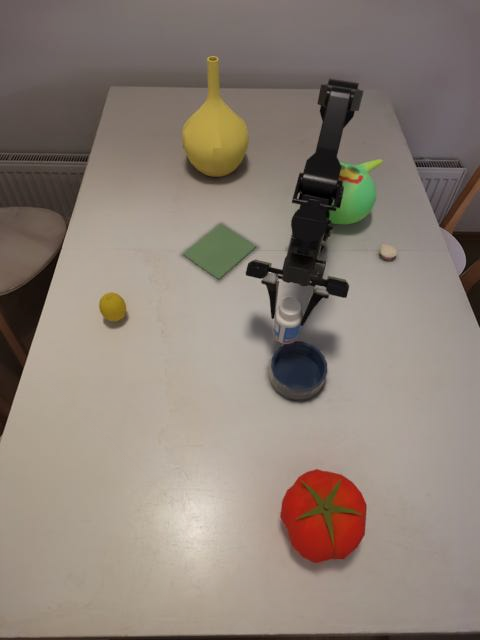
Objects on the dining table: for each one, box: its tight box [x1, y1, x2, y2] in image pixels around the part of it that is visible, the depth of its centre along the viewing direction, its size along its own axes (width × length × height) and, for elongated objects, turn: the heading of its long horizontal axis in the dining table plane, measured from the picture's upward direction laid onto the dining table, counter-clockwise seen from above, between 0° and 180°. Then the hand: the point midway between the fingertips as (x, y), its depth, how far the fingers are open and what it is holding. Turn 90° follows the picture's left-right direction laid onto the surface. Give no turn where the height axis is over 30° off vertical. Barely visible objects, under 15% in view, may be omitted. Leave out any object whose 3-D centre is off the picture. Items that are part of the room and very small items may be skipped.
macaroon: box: [379, 243, 398, 261], centre depth 107 cm, size 4×5×2 cm
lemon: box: [98, 292, 127, 322], centre depth 93 cm, size 6×6×8 cm
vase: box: [181, 55, 250, 178], centre depth 114 cm, size 18×18×30 cm
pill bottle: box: [272, 297, 304, 345], centre depth 84 cm, size 6×5×10 cm
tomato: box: [279, 468, 368, 564], centre depth 70 cm, size 13×14×12 cm
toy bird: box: [329, 158, 384, 225], centre depth 110 cm, size 18×17×15 cm
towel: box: [182, 223, 257, 281], centre depth 108 cm, size 14×12×1 cm
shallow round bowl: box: [269, 340, 328, 401], centre depth 88 cm, size 11×11×4 cm
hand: (287, 322), depth 82 cm, fingers closed on pill bottle, 5 cm apart
